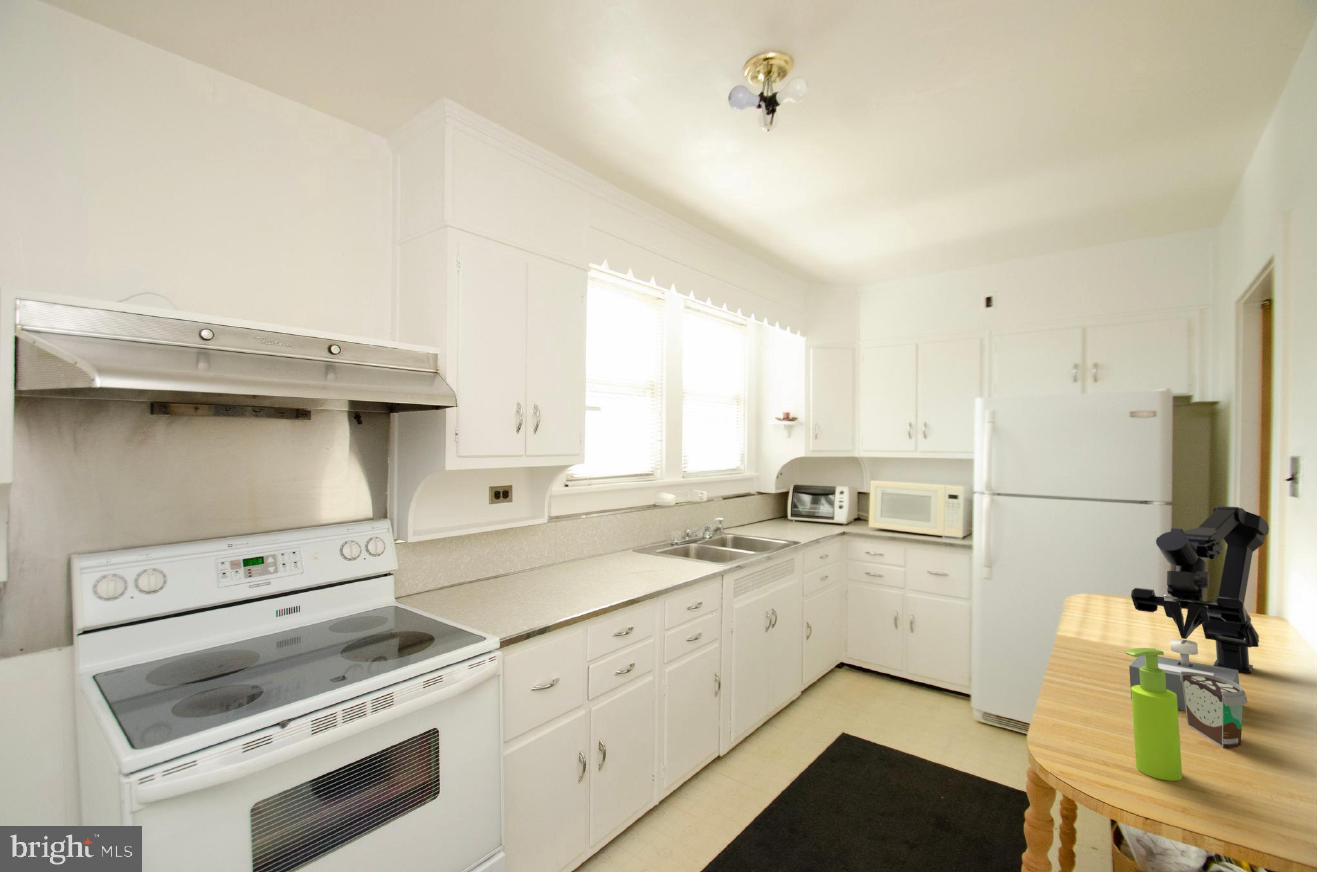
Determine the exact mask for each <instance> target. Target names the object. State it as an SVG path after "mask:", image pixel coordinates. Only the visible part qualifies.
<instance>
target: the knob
mask: <svg viewBox="0 0 1317 872" xmlns="http://www.w3.org/2000/svg"><path fill="white" fill-rule="evenodd" d="M1169 642H1170V643H1169V644H1170V651H1172V652H1174V653H1177V654H1179V655H1180V656H1179V657H1180V660H1181V665H1182V666H1187V667H1190V664H1189V662H1190V655H1192V656H1193V655H1195V656H1196V655H1198V654H1199V649H1198V643H1197V642H1196V641H1192V640H1188V639H1182V638H1181V639H1179V638H1171V639H1170V640H1169Z"/></svg>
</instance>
